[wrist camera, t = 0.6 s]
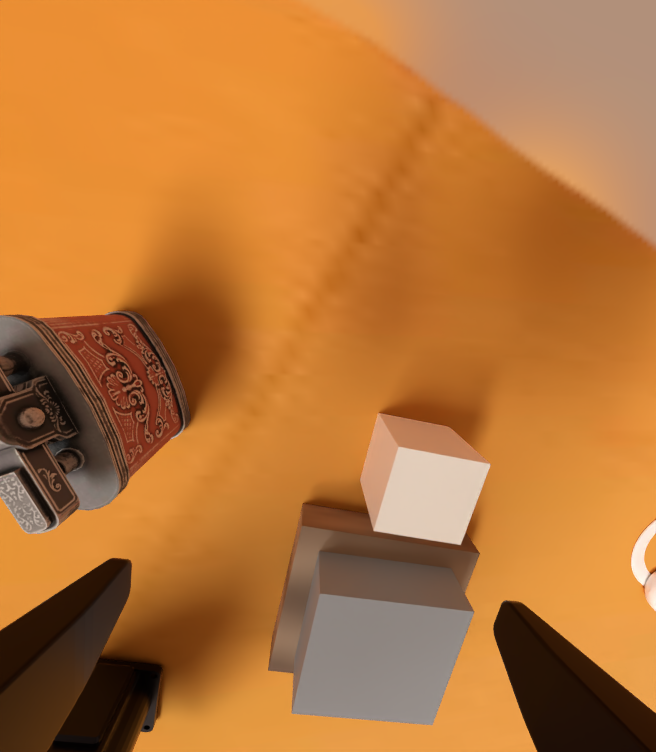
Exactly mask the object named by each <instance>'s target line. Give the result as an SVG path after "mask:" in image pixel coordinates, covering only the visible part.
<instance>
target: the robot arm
mask: <svg viewBox="0 0 656 752" xmlns="http://www.w3.org/2000/svg"><path fill="white" fill-rule="evenodd" d="M131 570H132V563H131V561H130V560H128V559H120V558H111V559H109V560H107V561H106V562H104V563H103V564H101V565H99V566H98V567H96V568H95V569H93V570H92V571H90V572H89V573H87V574H86V575H84V576H83V577H81V578H80V579H78V580H77V581H75V582H74V583H72V584H70V585H69V586H67V587H66V588H64V589H63V590H61V591H60V592H58V593H57V594H55V595H54V596H52V597H51V598H49V599H48V600H46V601H45V602H43V603H41V604H40V605H38V606H37V607H35V608H34V609H32V610H31V611H29V612H28V613H26V614H25V615H23V616H22V617H20V618H19V619H17V620H16V621H14V622H12V623H11V624H9V625H8V626H6V627H5V628H3V629H2V630H0V752H132V751H133V749H134V746H135V744H136V741H137V739H138V736H139V734H140V731H141V732H150V731H152V730H153V727H154V725H155V722H156V715H157V708H158V701H159V694H160V687H161V679H162V672H163V669H162V667H160V666H158V665H151V664H141V663H132V662H122V661H113V660H104V659H99V657H100V655H101V653H102V651H103V649H104V647H105V644H106V642H107V640H108V638H109V636H110V634H111V632H112V630H113V628H114V626H115V624H116V622H117V620H118V618H119V616H120V614H121V612H122V610H123V608H124V606H125V604H126V601H127V599H128V596H129V593H130V588H131ZM493 630H494V636H495V640H496V642H497V645H498V648H499V651H500V654H501V657H502V660H503V662H504V665H505V668H506V671H507V674H508V677H509V680H510V682H511V685H512V688H513V691H514V694H515V697H516V699H517V702H518V705H519V708H520V710H521V713H522V716H523V719H524V721H525V723H526V726H527V728H528V731H529V733H530V736H531V738H532V740H533V743H534V745H535V747H536V750H537V752H656V713H655V712H653V711H652V710H651V709H650V708H649V707H647V706H646V705H645V704H644V703H643V702H641V701H640V700H639V699H638V698H637V697H635V696H634V695H633V694H632V693H630V692H629V691H628V690H627V689H626V688H624V687H623V686H622V685H621V684H620V683H618V682H617V681H616V680H615V679H614V678H612V677H611V676H610V675H609V674H607V673H606V672H605V671H604V670H603V669H601V668H600V667H599V666H598V665H597V664H595V663H594V662H593V661H592V660H591V659H589V658H588V657H587V656H586V655H585V654H583V653H582V652H581V651H580V650H578V649H577V648H576V647H575V646H574V645H572V644H571V643H570V642H569V641H568V640H566V639H565V638H564V637H563V636H562V635H560V634H559V633H558V632H557V631H556V630H554V629H553V628H552V627H551V626H549V625H548V624H547V623H546V622H545V621H543V620H542V619H541V618H540V617H539V616H537V615H536V614H535V613H534V612H533V611H531V610H530V609H529V608H528V607H527V606H525V605H524V604H523V603H521V602H517V601H507V600H506V601H504V602H503V603H502V604H501V607H500V609H499V612H498V615H497V617H496V620H495V623H494V628H493Z"/></svg>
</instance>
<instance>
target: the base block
mask: <svg viewBox="0 0 656 752" xmlns="http://www.w3.org/2000/svg"><path fill="white" fill-rule="evenodd" d="M319 551H323V552H330V553H338V554H346V555H353V556H361V557H368V558H376V559H384V560H391V561H399V562H406V563H414V564H422V565H429V566H437V567H444V568H451V569H452V571H453V573H454V575H455V576H456V578H457V580H458V582H459V584H460V586H461V588H462V590H463V592H464V593H465V591H466V588H467V586H468V583H469V580H470V578H471V575H472V573H473V570H474V567H475V565H476V562H477V559H478V557H479V554H480V553H479V552H478V550H477V549H476V547H475V546H474V544H473V543H472V541H471V540H470V538H469V537H468V535H467V534H466V532H465V535H464V538H463V540H462V543H461V545H458V544H452V543H445V542H439V541H433V540H427V539H420V538H414V537H408V536H402V535H395V534H389V533H383V532H377V531H373V527H372V523H371V519H370V516H369V514H366V513H360V512H353V511H347V510H341V509H335V508H329V507H323V506H317V505H310V504H304V503H303V505H302V510H301V514H300V518H299V523H298V527H297V531H296V536H295V540H294V544H293V549H292V553H291V557H290V562H289V566H288V570H287V575H286V579H285V583H284V588H283V592H282V596H281V601H280V605H279V609H278V614H277V618H276V622H275V627H274V631H273V636H272V643H271V651H270V659H269V668H268V670H269V671H278V672H287V673H294V660H295V654H296V650H297V645H298V641H299V637H300V632H301V628H302V623H303V619H304V614H305V610H306V606H307V601H308V597H309V592H310V588H311V583H312V579H313V575H314V570H315V566H316V561H317V557H318V552H319Z"/></svg>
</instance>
